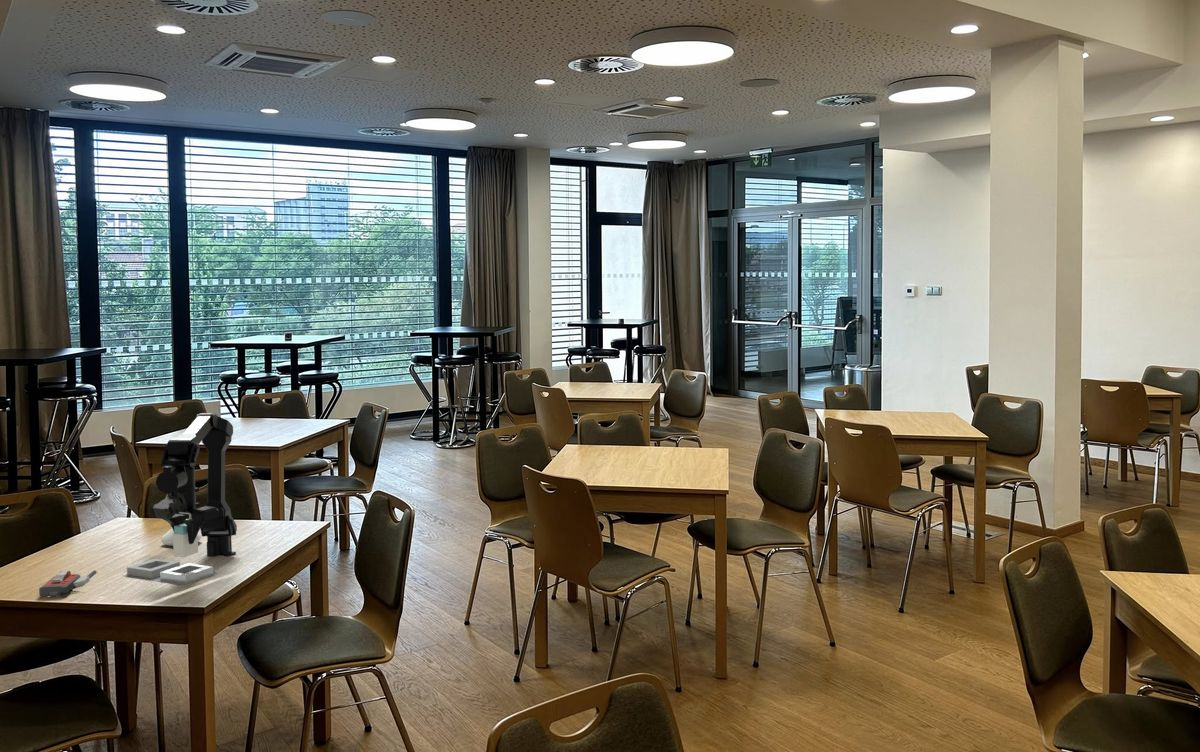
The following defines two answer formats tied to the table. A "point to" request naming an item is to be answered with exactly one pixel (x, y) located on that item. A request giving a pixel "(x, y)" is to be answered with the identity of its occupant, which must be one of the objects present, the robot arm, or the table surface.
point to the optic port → (186, 573)
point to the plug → (183, 542)
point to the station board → (163, 580)
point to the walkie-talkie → (63, 584)
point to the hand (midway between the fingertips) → (185, 543)
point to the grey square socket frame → (151, 568)
